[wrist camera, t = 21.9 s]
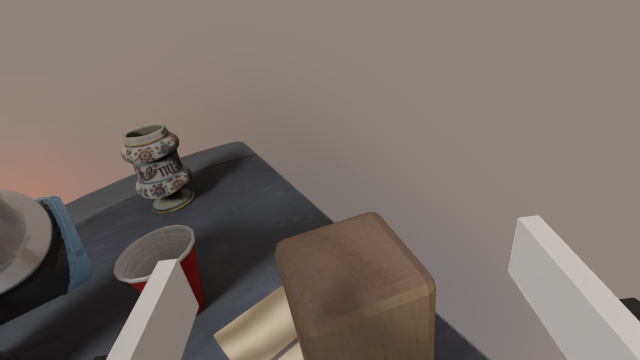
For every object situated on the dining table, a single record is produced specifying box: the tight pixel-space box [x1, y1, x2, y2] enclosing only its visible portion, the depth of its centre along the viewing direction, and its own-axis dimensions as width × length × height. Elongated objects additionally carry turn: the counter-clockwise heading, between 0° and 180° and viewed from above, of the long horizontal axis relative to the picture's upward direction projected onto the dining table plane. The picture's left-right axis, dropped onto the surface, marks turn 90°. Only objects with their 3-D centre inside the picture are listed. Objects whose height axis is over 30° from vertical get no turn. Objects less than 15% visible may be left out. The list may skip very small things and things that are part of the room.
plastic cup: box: [113, 225, 204, 316], centre depth 50 cm, size 11×11×12 cm
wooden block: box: [275, 212, 436, 360], centre depth 32 cm, size 10×10×20 cm
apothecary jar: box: [121, 124, 194, 213], centre depth 78 cm, size 12×12×18 cm
